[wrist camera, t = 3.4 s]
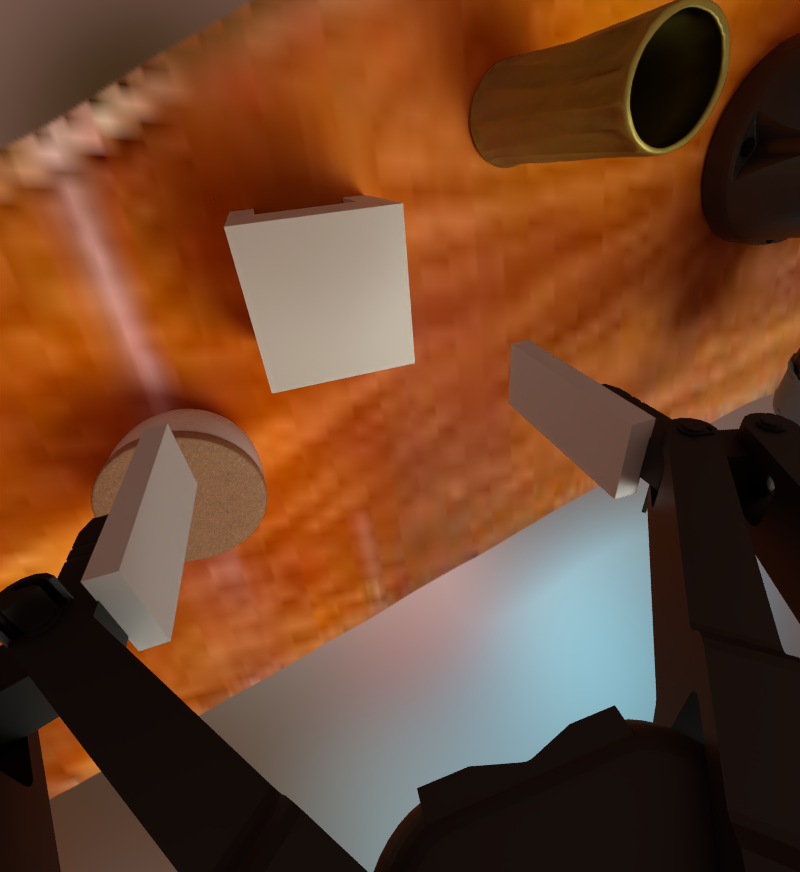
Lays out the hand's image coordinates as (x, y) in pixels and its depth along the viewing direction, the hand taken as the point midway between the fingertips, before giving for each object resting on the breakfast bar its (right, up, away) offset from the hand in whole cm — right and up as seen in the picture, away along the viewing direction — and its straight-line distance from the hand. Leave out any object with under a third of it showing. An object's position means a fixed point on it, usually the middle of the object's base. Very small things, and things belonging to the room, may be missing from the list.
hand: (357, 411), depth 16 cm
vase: (+9, +21, +13) cm, 27 cm away
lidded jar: (-15, -2, +19) cm, 24 cm away
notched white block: (-5, +11, +15) cm, 19 cm away
